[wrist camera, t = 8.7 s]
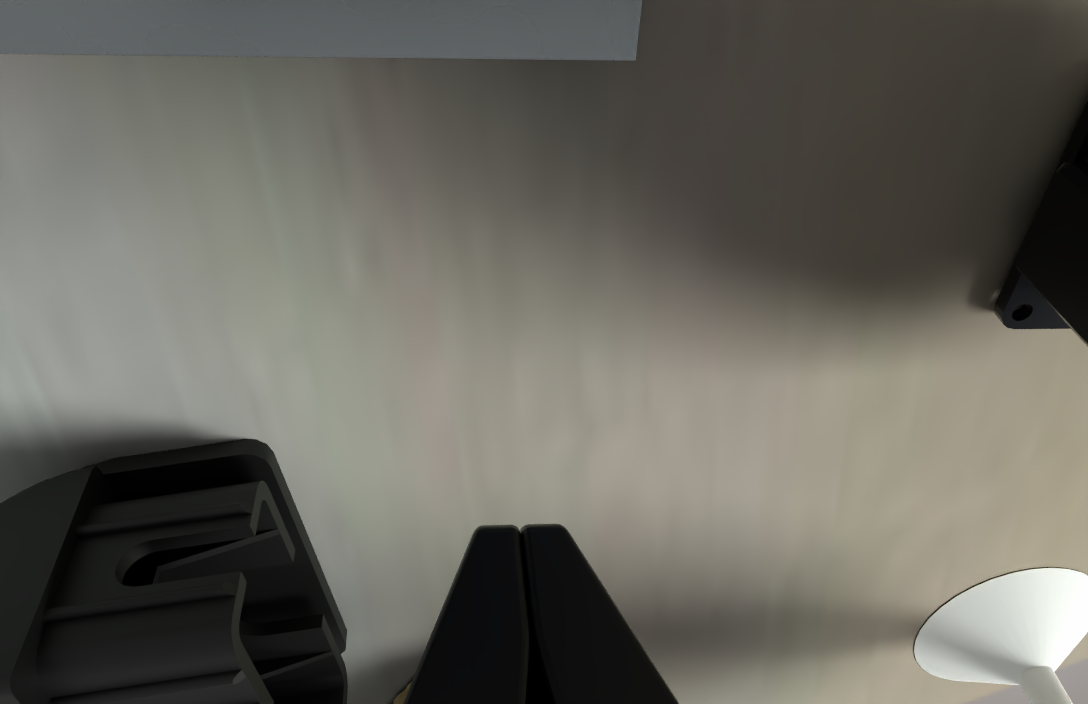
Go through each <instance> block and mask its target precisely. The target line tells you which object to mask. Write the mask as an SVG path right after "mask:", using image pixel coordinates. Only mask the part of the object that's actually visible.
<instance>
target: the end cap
mask: <svg viewBox="0 0 1088 704" xmlns="http://www.w3.org/2000/svg"><path fill="white" fill-rule="evenodd" d="M346 636H347V629H346V627H345V624H344V622H343V619H342V617H341V615H340V612H339V610H338V607H337V605H336V602H335V600H334V598H333V595H332V593H331V590H330V588H329V586H328V583H327V581H326V578H325V576H324V573H323V571H322V569H321V566H320V564H319V561H318V559H317V556H316V554H315V552H314V549H313V547H312V544H311V542H310V540H309V537H308V535H307V532H306V530H305V527H304V525H303V523H302V520H301V518H300V515H299V513H298V510H297V508H296V506H295V503H294V501H293V498H292V496H291V493H290V491H289V489H288V486H287V484H286V481H285V479H284V477H283V474H282V472H281V469H280V467H279V464H278V462H277V460H276V457H275V455H274V452H273V451H272V450H271V449H270V447H269V446H268V445H267V444H265V443H262V442H260V441H258V440H248V439H242V440H236V441H229V442H222V443H215V444H208V445H201V446H194V447H188V448H181V449H174V450H167V451H160V452H153V453H146V454H139V455H133V456H126V457H119V458H113V459H110V460H107V461H103V462H100V463H97V464H93V465H90V466H87V467H84V468H82V469H80V470H76V471H72V472H68V473H65V474H62V475H59V476H56V477H53V478H50V479H47V480H45V481H43V482H40V483H38V484H36V485H34V486H32V487H30V488H27V489H25V490H23V491H21V492H19V493H18V494H16V495H14V496H12V497H11V498H9V499H7V500H6V501H4V502H2V503H1V504H0V704H347V688H348V685H347V673H346V667H345V664H344V661H343V659H342V656H341V653H343V652H344V651H345V649H346Z"/></svg>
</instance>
